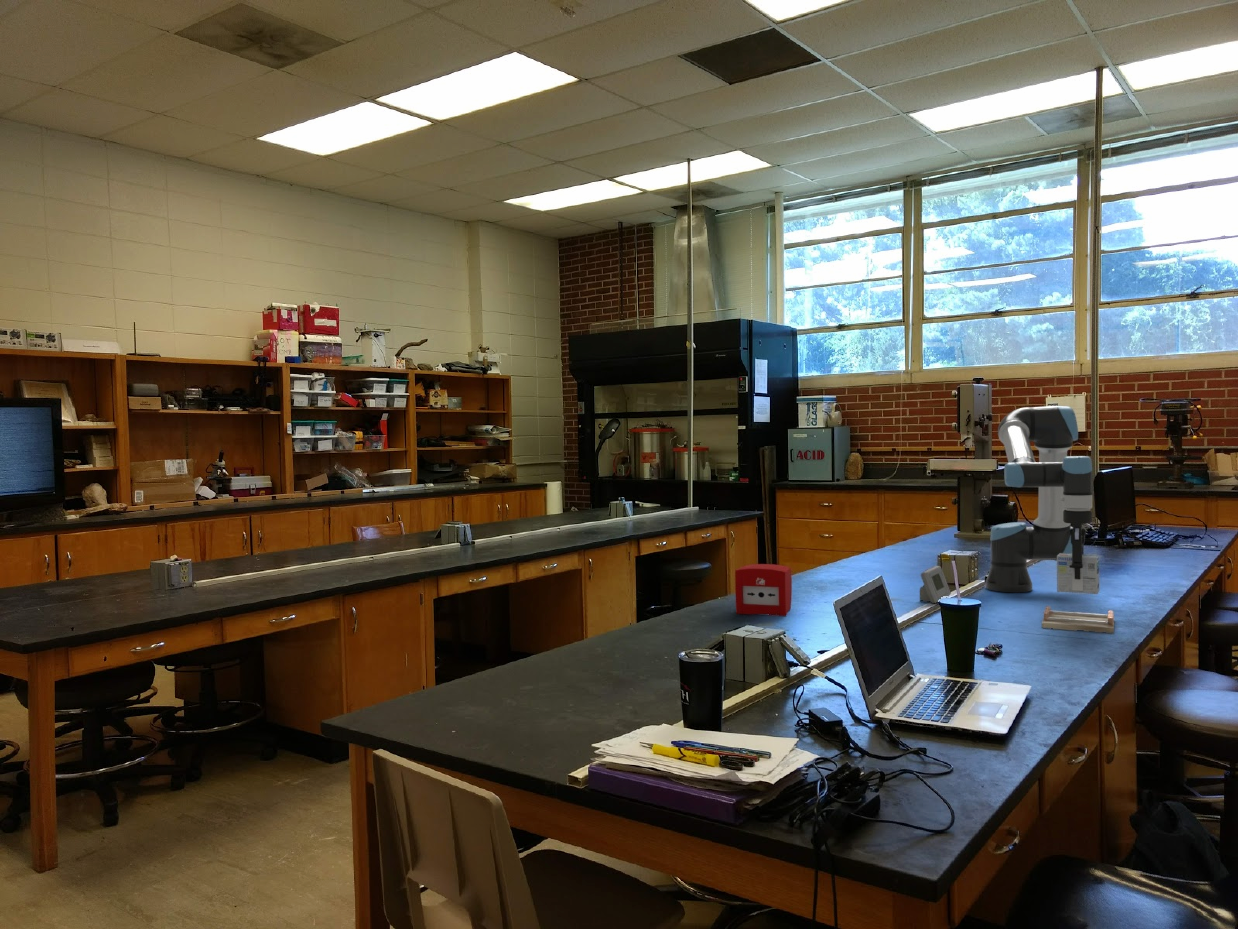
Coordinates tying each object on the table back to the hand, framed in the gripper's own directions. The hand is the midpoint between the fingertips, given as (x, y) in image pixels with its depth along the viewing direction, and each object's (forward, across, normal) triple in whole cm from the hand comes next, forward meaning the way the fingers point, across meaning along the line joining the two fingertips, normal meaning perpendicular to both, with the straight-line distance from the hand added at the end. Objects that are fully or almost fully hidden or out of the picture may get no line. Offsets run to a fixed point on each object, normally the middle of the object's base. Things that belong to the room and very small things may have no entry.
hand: (1078, 587), depth 256 cm
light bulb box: (+1, 0, 0) cm, 1 cm away
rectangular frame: (+9, 0, 0) cm, 9 cm away
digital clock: (+11, -22, -44) cm, 50 cm away
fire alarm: (+11, +18, -90) cm, 92 cm away
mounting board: (+11, 0, 0) cm, 11 cm away
